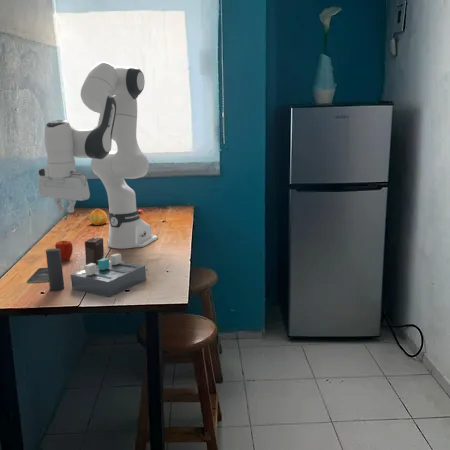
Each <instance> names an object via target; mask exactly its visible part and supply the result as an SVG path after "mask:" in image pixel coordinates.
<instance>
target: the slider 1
mask: <svg viewBox="0 0 450 450" xmlns="http://www.w3.org/2000/svg"><path fill="white" fill-rule="evenodd" d="M84 269H85V275H93V274H95V273H97V269H96V264H94V263H90V264H88V265H86V264H85V265H84Z"/></svg>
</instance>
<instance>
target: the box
mask: <svg viewBox="0 0 450 450" xmlns="http://www.w3.org/2000/svg"><path fill="white" fill-rule="evenodd" d="M84 251H85V265H88V264H90V263H94V264H96V265H97V264H98V260H100V259H103V258H105V253H104V238H103V237H102V238H101V237H92V238H89V239H87V240H85V241H84Z"/></svg>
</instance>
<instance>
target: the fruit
mask: <svg viewBox="0 0 450 450" xmlns="http://www.w3.org/2000/svg"><path fill="white" fill-rule="evenodd" d="M107 214H108V213H106V211H104V210H103V209H101V208H95V209H94V210H93V211H92V212H91V213H90V214H89V221H90V223H91V224H92V225H94V226H101V225H104V224H106V222H107V221H108V215H107Z"/></svg>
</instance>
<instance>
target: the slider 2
mask: <svg viewBox="0 0 450 450" xmlns="http://www.w3.org/2000/svg"><path fill="white" fill-rule="evenodd" d="M109 259H110V260H111V264H113V265H117V264H119V263H121V262H122V254H121V253H118V252H117V253H114V254H111V255H110V258H109Z"/></svg>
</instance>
